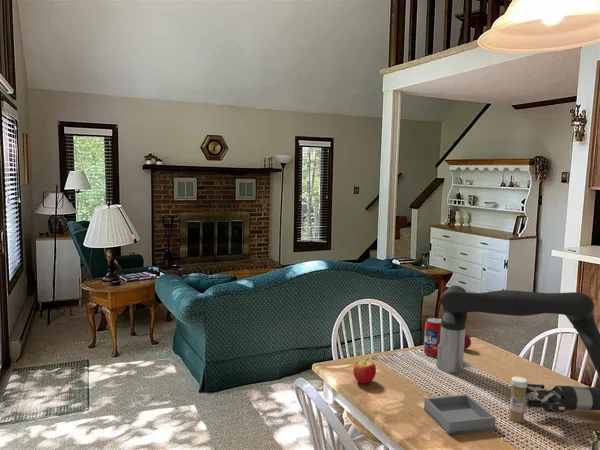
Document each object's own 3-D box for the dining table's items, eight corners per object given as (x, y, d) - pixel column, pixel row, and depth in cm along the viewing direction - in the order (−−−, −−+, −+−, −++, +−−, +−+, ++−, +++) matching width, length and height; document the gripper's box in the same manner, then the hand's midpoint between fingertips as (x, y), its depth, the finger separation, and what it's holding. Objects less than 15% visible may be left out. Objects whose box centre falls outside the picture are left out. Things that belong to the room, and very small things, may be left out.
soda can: (446, 355, 208) (448, 321, 207) (433, 358, 204) (435, 324, 202) (432, 349, 215) (434, 316, 213) (419, 352, 211) (421, 319, 209)
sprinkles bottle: (506, 419, 155) (509, 379, 154) (511, 414, 159) (514, 374, 157) (521, 424, 153) (525, 383, 151) (526, 418, 156) (529, 378, 154)
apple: (365, 389, 175) (366, 362, 173) (348, 381, 181) (349, 355, 180) (380, 382, 180) (381, 357, 179) (362, 375, 186) (363, 350, 185)
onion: (471, 352, 212) (472, 335, 211) (457, 351, 213) (458, 333, 212) (469, 348, 217) (470, 330, 217) (456, 346, 219) (457, 329, 218)
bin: (448, 435, 145) (449, 422, 145) (423, 409, 160) (424, 398, 160) (494, 429, 149) (495, 417, 148) (466, 405, 164) (467, 394, 164)
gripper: (561, 377, 162) (512, 376, 162) (586, 397, 147) (532, 396, 147) (559, 398, 163) (510, 397, 162) (583, 420, 148) (530, 419, 148)
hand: (521, 396), depth 155 cm, fingers open, 8 cm apart
